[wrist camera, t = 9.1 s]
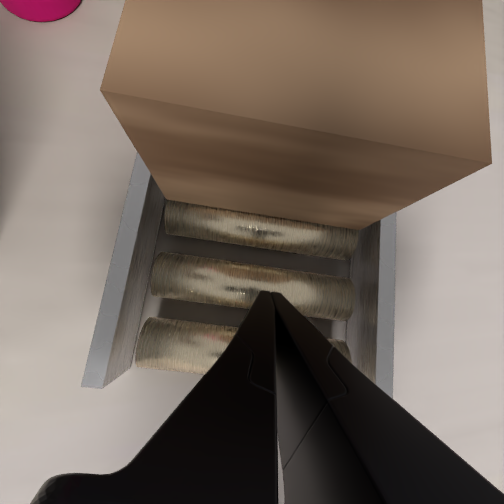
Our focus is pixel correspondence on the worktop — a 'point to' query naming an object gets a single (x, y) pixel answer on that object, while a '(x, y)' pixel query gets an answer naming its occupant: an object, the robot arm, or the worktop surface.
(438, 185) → the slab
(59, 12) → the pepper mill
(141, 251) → the track
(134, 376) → the worktop surface
